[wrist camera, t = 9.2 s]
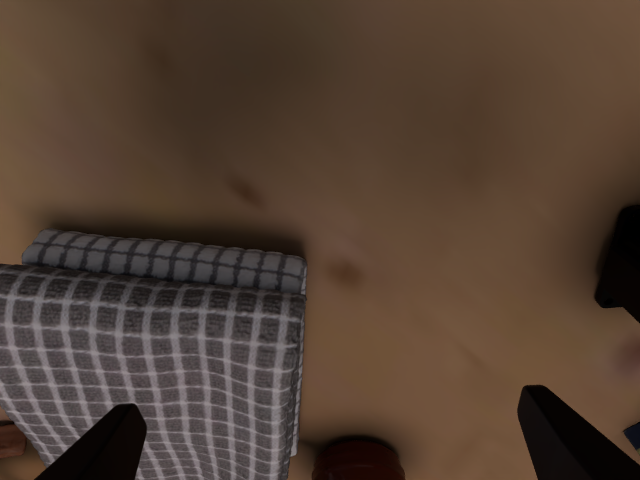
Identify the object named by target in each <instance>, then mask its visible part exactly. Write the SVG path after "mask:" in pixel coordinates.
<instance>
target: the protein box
mask: <svg viewBox="0 0 640 480" xmlns="http://www.w3.org/2000/svg"><path fill="white" fill-rule="evenodd" d="M624 434H625V436H626V437H627V438H628V439H629V441H630V442H631V444H632V445H633V447H634V448H635V449H636V451H637V452H638V454H639V455H640V423H638V424H636V425H634V426H632V427H630V428H628V429H626V430H625V431H624Z"/></svg>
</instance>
